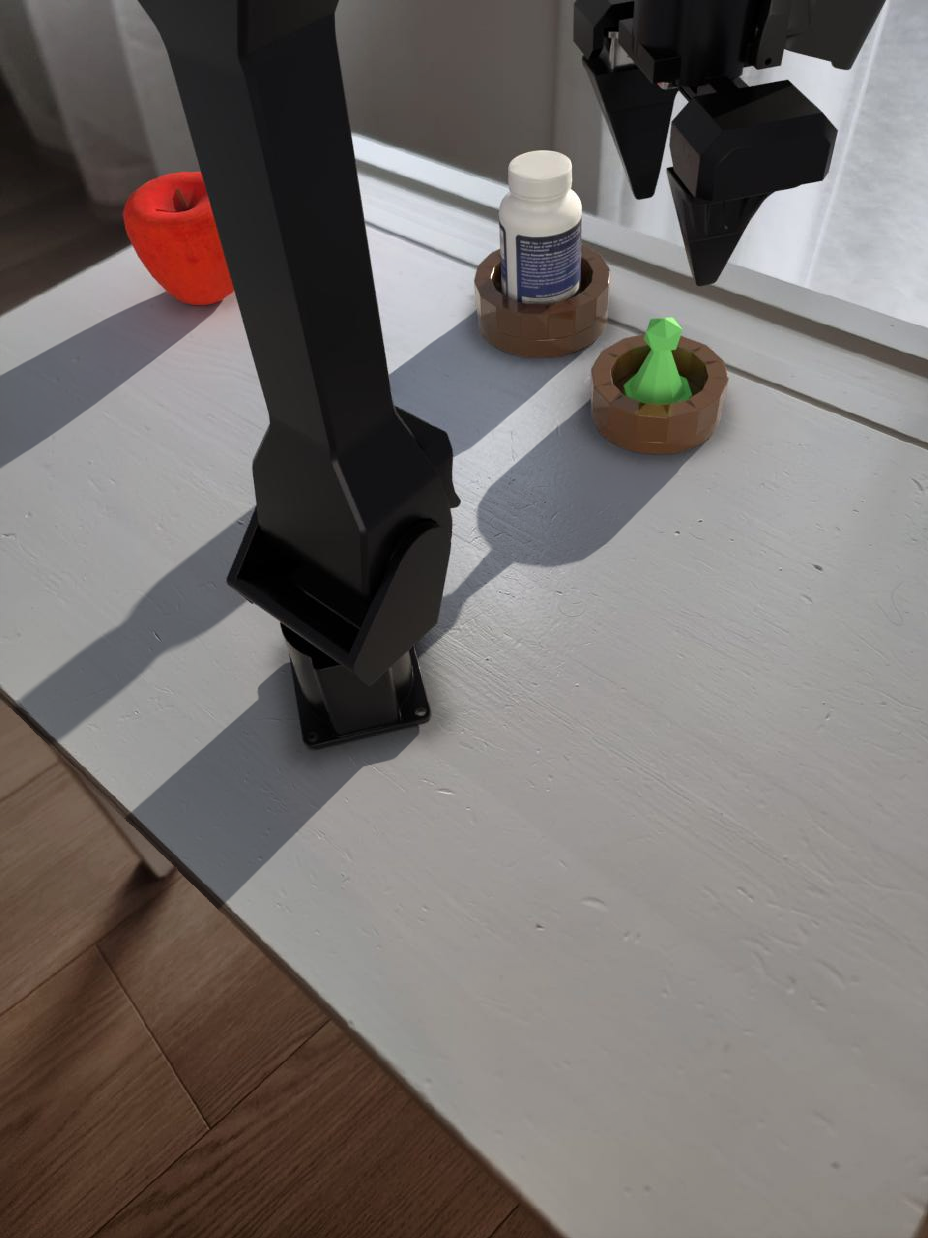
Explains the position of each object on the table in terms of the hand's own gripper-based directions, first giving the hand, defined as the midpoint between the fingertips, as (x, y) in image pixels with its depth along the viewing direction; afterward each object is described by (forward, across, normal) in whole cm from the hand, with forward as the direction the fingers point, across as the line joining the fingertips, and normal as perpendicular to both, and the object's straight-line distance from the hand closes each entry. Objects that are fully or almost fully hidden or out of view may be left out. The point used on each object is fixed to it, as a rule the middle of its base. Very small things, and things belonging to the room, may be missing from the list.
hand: (673, 238), depth 54 cm
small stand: (+12, 0, 0) cm, 12 cm away
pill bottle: (+11, +12, +4) cm, 16 cm away
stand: (+12, +12, +4) cm, 17 cm away
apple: (+12, +24, +27) cm, 38 cm away
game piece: (+11, 0, 0) cm, 11 cm away
